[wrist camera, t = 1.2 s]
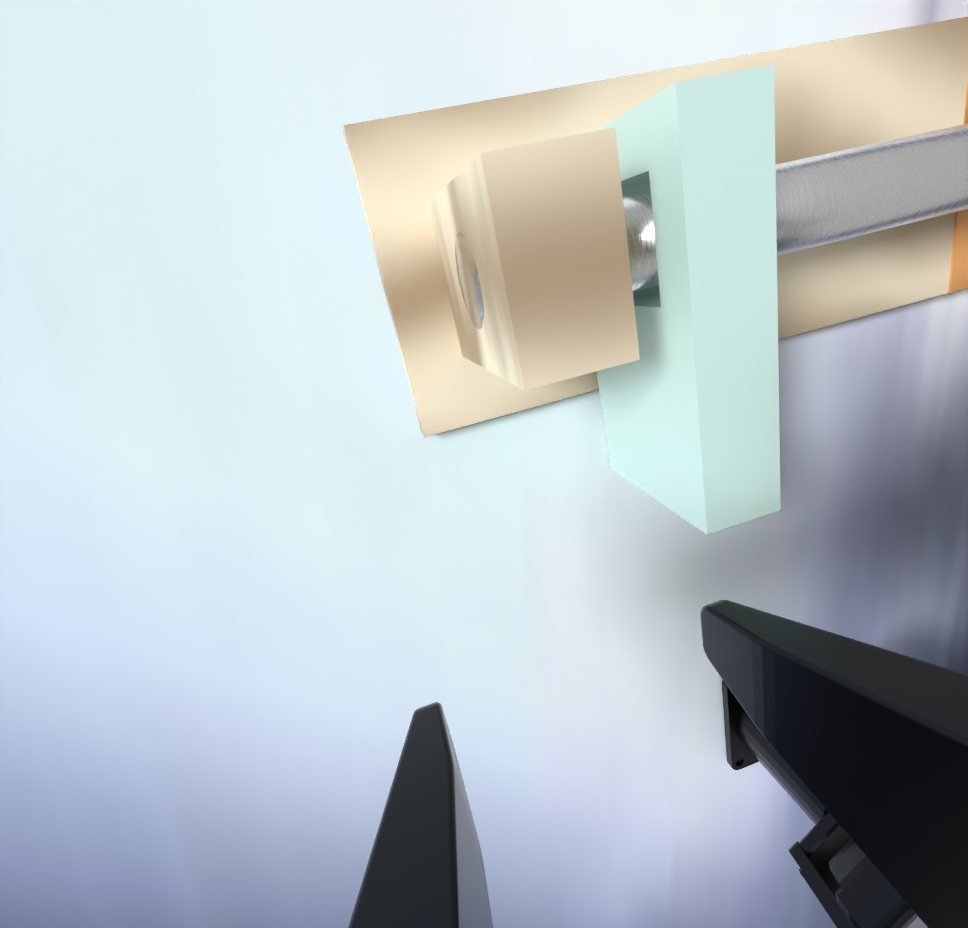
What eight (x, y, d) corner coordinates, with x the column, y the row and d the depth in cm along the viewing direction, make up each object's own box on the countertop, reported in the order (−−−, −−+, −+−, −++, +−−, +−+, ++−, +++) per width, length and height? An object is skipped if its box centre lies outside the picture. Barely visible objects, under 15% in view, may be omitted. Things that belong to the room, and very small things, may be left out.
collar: (665, 452, 22) (780, 510, 16) (609, 469, 22) (707, 534, 16) (636, 135, 18) (774, 64, 12) (566, 148, 18) (675, 82, 12)
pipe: (1182, 154, 22) (1295, 136, 19) (468, 328, 17) (491, 336, 14) (1200, 72, 21) (1322, 42, 18) (448, 233, 16) (469, 222, 13)
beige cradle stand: (1108, 244, 26) (1401, 227, 19) (421, 431, 20) (465, 509, 13) (1155, -11, 23) (1537, -151, 15) (343, 132, 17) (346, 18, 10)
